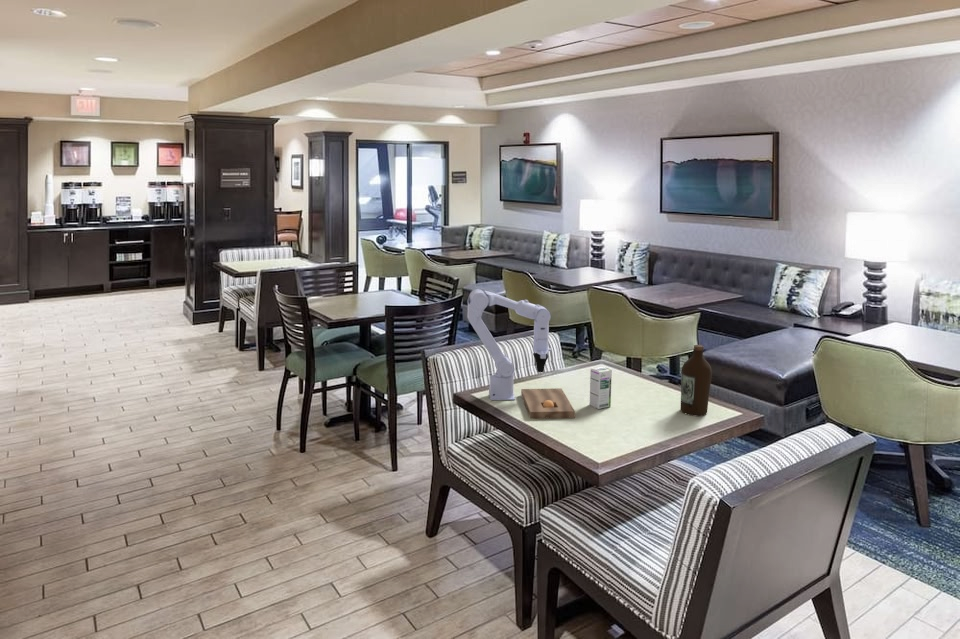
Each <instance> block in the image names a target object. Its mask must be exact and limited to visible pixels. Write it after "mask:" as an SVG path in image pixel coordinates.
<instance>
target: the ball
mask: <svg viewBox="0 0 960 639" xmlns="http://www.w3.org/2000/svg"><path fill="white" fill-rule="evenodd" d="M543 408H554V404H553V402H552V401H550V400H546V401H545V402H544V403H543Z"/></svg>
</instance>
